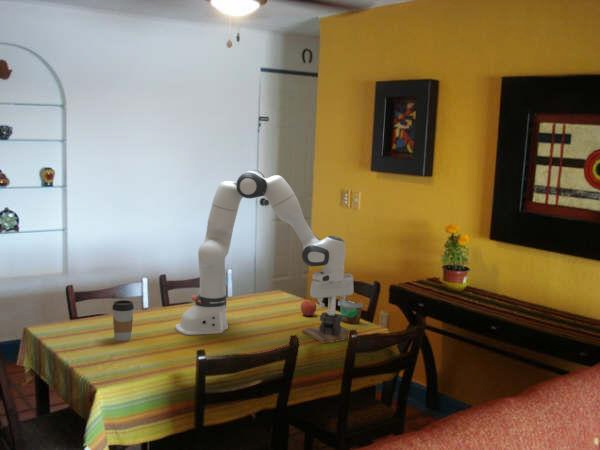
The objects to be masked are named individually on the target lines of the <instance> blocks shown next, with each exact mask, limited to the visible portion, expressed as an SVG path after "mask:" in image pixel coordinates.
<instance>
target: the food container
mask: <svg viewBox="0 0 600 450" xmlns="http://www.w3.org/2000/svg"><path fill="white" fill-rule="evenodd" d="M339 307H340V315H341V316H342V321H341V323H343V324H346V325H358V324H360V320H361V316H362V308H364V305H363V302H356V301H353V300H347V299H345V300H344V302H343V306H339Z"/></svg>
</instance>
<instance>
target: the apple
mask: <svg viewBox="0 0 600 450" xmlns="http://www.w3.org/2000/svg"><path fill="white" fill-rule="evenodd" d="M300 310H301V313H302V314H303V315H304V316H306V317H307V316H310V317H312V316H313V315H314V314H315V313H316V311H317V303H316V302H315V301H314V300H304V301H302V302H301V303H300Z"/></svg>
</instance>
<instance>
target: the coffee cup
mask: <svg viewBox="0 0 600 450" xmlns="http://www.w3.org/2000/svg"><path fill="white" fill-rule="evenodd" d="M133 303H134V302H133V301H131V300H126V299H125V300H124V299H123V300H122V299H121V300H115V301H114V302H113V304H112V308H111V309H112V321H113V334H114V337H113V338H114V339H115V341H116V342H128V341H130V340H131V338H132V330H133V319H134V317H133V315H134V309H135V308H134V304H133Z"/></svg>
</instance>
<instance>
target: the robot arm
mask: <svg viewBox="0 0 600 450" xmlns="http://www.w3.org/2000/svg"><path fill="white" fill-rule="evenodd" d="M260 197H265V199H266V201H268V203H269V205H270V207H271V208H272V210H273V212H274V213H275V215H276V216H277V217H278V218H279V220H280V221H282V222H285V223H287V224H289V225H290V226H291V227H292V228H293V230H294V232H295V234H296V235H297V237H298V238H299V240H300V242H301V244H302V252H301V258H302V261H303V263H304V264H305V265H306V266H308V267H321V266H322V267H323V268H322V269H320V270H318V271H316V272H313V273H312V281H311V283H310V290H309V291H310V292H309V295H310V297H312V298H314V299H317V302H318V303H319V308H320V309H324V308H325V303H324V302H323V300H324V298H325V299H326V298H329V297H333V296H336V297H340V298H339V299H340V300H338V301H337V306H339V307H340V306H343V302H344V300H346V298H347V296H352V295H353V294H354V288H355V287H354V275H353V274H351V273H350V272H349V273H345V264H344V263H345V259H346V243H345V241H344V239H342V238H340V237H339V236H334V235H328V236H326V237H325V238H322V239H320V238H318V237H317V236H316V235H315V233H314V232H313V231H312V228H311V227H310V225H309V224H308V222H307V220H306V219H305V217H304V214H303V209H302V208H301V204H300V202H299V199H298V197H297V196H296V194H295V192H294V190H293V189H292V187H291V186H290V185H289V183H288V182H287V181H286V179H285V178H284V176H281V175H277V174H276V175H275V174H274V175H272V176H269V177H267V178H266V177H265V175H264V174H263V173H262V172H261V171H259V170H256V169H249V170H247V171H244V172H243V173H242V174H241V175H239V177H238V178H237V180H236V181H232V180H225V181H222V182H220V183H219V184H218V186H217V188H216V191H215V194H214V196H213V200H212V203H211V207H210V211H209V215H208V220H207V226H206V232H205V238H204V241H203V242H202V244H201V245H200V246H199V248H198V252H197V254H198V255H197V256H198V271H199V293H198V296H196V295H192V296H191V297H190V299H191V300H192V302H195V303H194V304H193V305H192V306H191V307H189V308H188V309H187V310H185V311H184V312H183V313H182V314H181V319H180V322H179V323H176V324H175V327H174V328H175V330H176V331H177V332H178V333H180V334H183V335H185V336H195V335H196V336H197V335H198V336H199V335H215V334H223V333H224V331H226V330H227V329H229V325H228V320H227V312H226V308H227V294H226V292H227V290H226V289H227V285H226V284H227V275H226V257H227V256H228V254H229V250H230V248H231V247H230V245H231V242H232V236H233V233H234V232H233V231H234V227H235V222H236V219H237V215H238V210H239V207H240V203H241V201H242V199H243V198H245V199H248V200H249V199H255V198H260Z"/></svg>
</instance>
